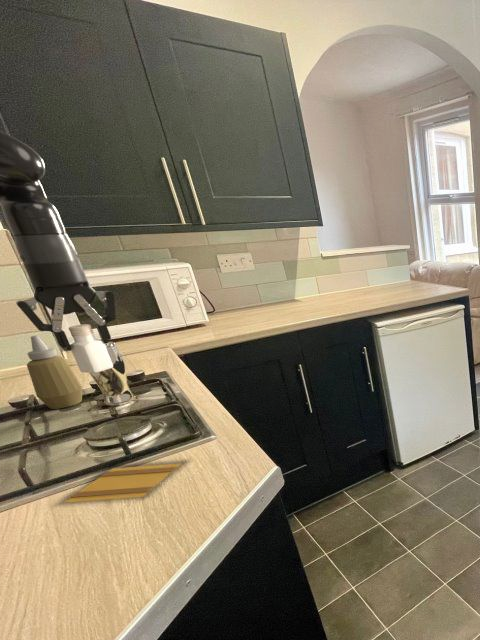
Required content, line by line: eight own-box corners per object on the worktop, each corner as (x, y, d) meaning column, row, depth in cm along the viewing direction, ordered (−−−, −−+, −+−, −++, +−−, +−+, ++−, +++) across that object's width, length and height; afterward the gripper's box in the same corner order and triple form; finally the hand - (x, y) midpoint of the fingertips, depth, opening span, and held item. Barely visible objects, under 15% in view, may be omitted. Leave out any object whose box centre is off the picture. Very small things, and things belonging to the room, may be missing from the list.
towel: (65, 505, 68) (63, 502, 67) (113, 471, 77) (112, 467, 77) (143, 499, 69) (142, 496, 68) (182, 466, 78) (181, 462, 78)
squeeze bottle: (54, 413, 101) (20, 342, 95) (36, 409, 104) (1, 339, 98) (95, 400, 108) (65, 333, 102) (77, 396, 111) (47, 330, 104)
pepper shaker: (95, 374, 85) (76, 328, 82) (79, 373, 86) (59, 328, 83) (115, 367, 89) (98, 323, 85) (100, 366, 90) (82, 323, 86)
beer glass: (107, 409, 103) (82, 351, 97) (98, 403, 106) (73, 347, 101) (142, 399, 108) (120, 343, 103) (132, 394, 112) (110, 340, 106)
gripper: (97, 256, 87) (128, 335, 93) (-8, 262, 76) (34, 351, 83) (105, 257, 82) (136, 340, 89) (-5, 264, 72) (39, 358, 78)
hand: (87, 345), depth 85 cm, fingers closed on pepper shaker, 5 cm apart
